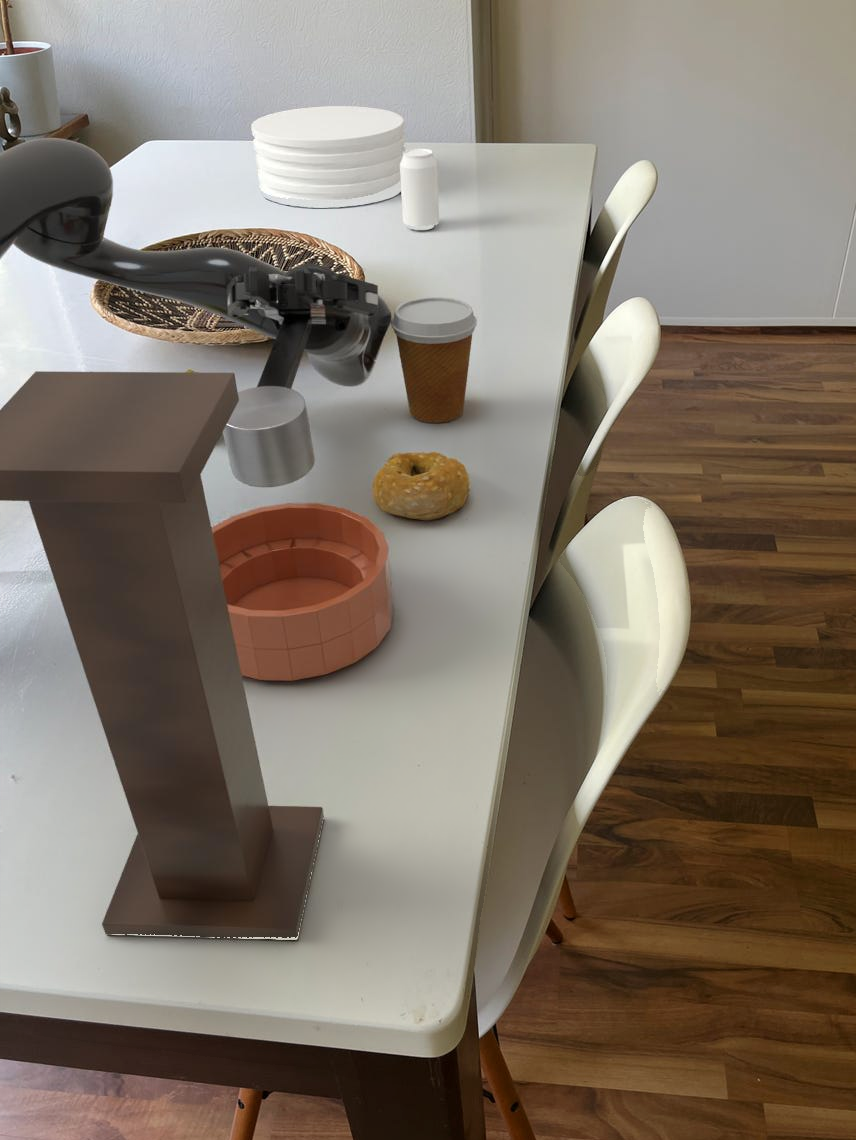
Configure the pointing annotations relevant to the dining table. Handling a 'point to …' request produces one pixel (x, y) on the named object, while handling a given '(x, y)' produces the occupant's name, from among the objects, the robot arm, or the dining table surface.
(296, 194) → the plate stack
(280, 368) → the metal mallet
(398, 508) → the bagel
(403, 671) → the dining table surface
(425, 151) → the beverage can
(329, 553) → the bowl
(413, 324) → the disposable coffee cup
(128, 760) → the stand
